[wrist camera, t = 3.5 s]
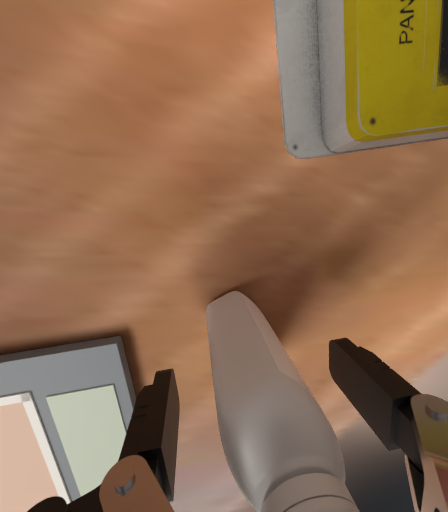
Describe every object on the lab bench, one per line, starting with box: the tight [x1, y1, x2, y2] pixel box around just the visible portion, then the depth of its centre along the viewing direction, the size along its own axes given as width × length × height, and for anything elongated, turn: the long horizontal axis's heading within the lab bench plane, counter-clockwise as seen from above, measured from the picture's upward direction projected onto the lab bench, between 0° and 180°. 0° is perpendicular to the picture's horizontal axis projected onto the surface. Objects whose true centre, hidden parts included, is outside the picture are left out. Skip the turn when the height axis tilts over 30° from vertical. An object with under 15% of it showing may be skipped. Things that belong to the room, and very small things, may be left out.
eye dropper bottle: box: [206, 291, 359, 512], centre depth 9 cm, size 4×6×12 cm
